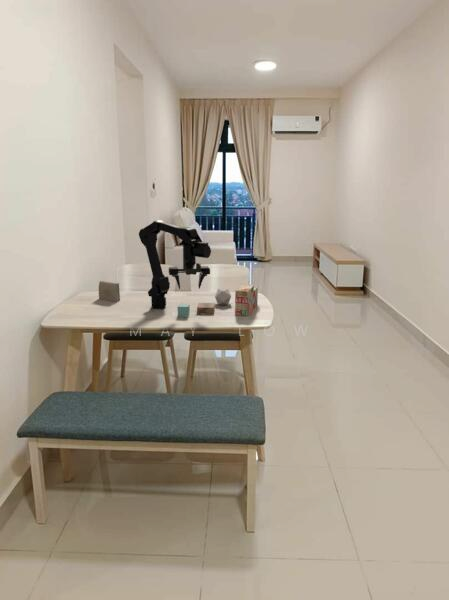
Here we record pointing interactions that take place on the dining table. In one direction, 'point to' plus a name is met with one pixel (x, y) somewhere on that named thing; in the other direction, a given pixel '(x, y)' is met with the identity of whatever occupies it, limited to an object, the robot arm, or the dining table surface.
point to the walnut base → (205, 308)
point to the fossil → (109, 291)
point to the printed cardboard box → (245, 299)
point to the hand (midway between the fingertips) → (189, 288)
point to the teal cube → (183, 310)
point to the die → (223, 296)
